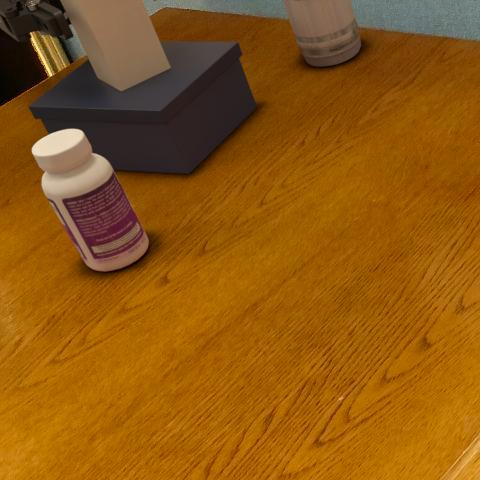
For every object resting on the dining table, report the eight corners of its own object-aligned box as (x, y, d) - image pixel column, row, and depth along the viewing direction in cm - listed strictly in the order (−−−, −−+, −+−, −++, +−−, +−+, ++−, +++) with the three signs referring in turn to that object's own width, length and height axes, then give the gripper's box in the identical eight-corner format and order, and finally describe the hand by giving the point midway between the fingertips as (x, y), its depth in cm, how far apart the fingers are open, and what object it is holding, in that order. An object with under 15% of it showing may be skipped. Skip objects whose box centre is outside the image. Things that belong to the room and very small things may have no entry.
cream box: (97, 78, 90) (39, -43, 82) (146, 55, 92) (93, -65, 84) (121, 91, 87) (63, -32, 80) (171, 68, 89) (118, -55, 81)
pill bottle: (163, 236, 82) (107, 122, 74) (130, 274, 78) (68, 160, 71) (108, 234, 83) (48, 123, 76) (73, 272, 80) (7, 160, 73)
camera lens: (366, 35, 102) (343, -48, 96) (360, 62, 98) (336, -23, 92) (307, 45, 103) (280, -37, 97) (298, 72, 99) (270, -12, 93)
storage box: (61, 169, 93) (27, 106, 88) (139, 102, 100) (111, 41, 95) (190, 176, 88) (160, 110, 83) (261, 105, 95) (238, 41, 90)
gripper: (-60, -44, 88) (8, -9, 79) (86, -101, 93) (165, -75, 84) (-11, 44, 93) (57, 85, 84) (123, -15, 98) (201, 19, 89)
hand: (110, 6), depth 84 cm, fingers open, 8 cm apart
